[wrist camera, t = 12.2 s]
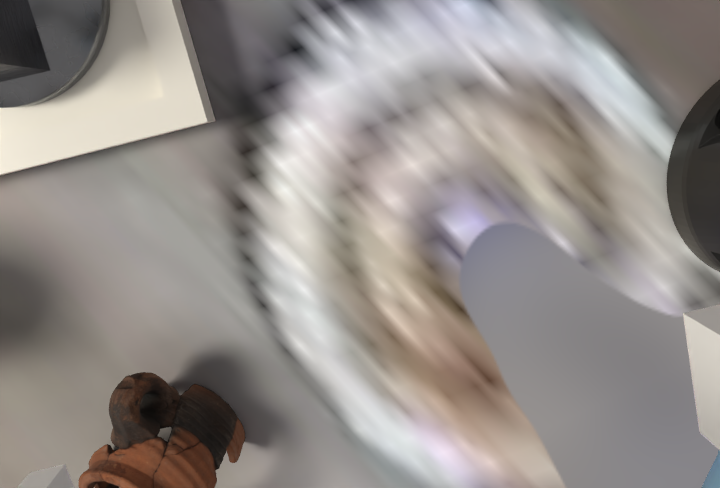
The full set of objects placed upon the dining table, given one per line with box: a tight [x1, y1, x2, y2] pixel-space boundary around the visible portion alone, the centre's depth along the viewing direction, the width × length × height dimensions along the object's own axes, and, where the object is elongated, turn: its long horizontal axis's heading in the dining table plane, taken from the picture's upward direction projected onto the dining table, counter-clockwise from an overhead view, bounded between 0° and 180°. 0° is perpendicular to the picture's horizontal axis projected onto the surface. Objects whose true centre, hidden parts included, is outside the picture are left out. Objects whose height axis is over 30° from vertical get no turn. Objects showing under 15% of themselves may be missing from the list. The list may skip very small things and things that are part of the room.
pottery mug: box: [79, 372, 245, 488], centre depth 41 cm, size 12×10×8 cm
